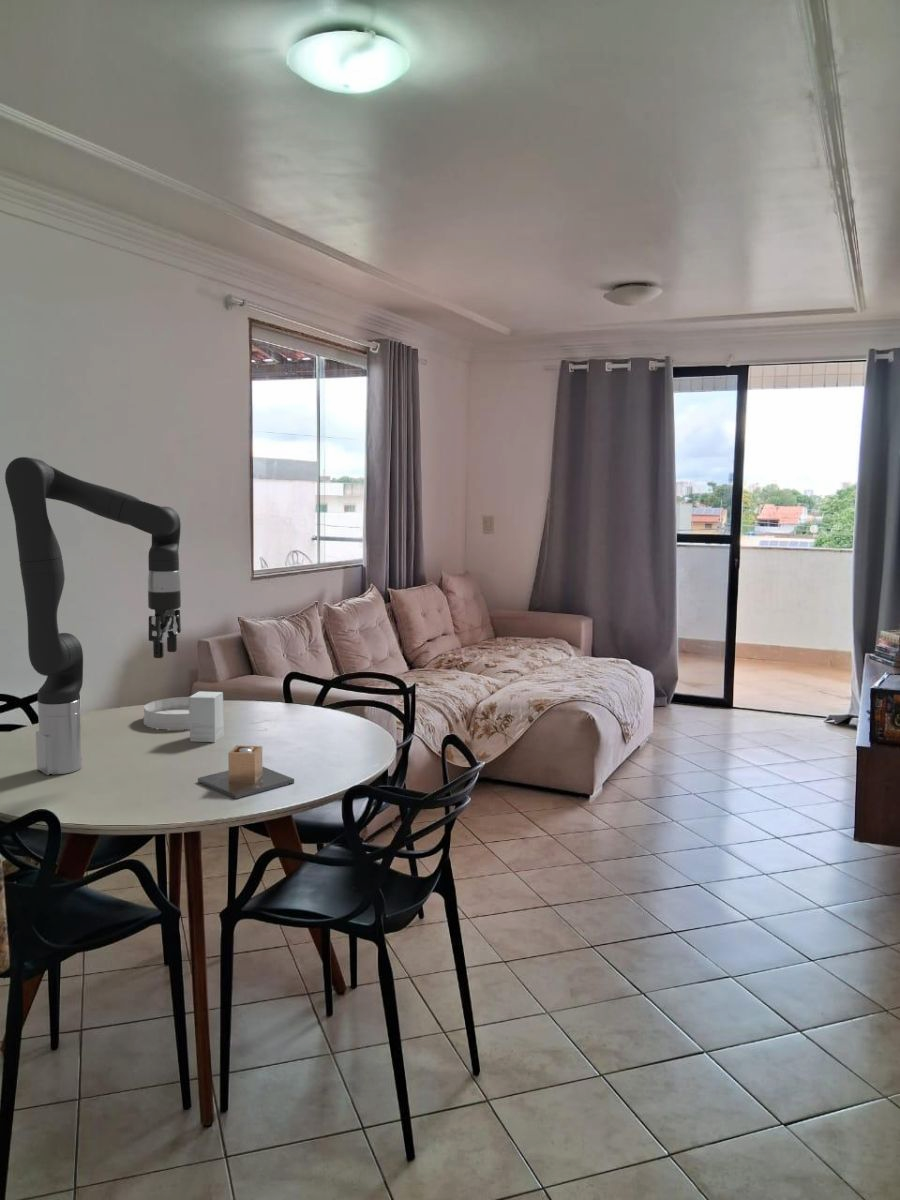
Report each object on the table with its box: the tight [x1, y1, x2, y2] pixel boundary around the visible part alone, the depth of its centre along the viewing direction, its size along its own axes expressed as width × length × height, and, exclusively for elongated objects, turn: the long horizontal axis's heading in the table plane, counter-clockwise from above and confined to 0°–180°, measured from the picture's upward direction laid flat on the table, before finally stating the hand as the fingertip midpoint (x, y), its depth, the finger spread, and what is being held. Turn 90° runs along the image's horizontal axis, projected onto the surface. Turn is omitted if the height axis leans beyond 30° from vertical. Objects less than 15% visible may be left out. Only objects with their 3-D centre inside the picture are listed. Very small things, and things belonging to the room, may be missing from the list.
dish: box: [143, 696, 190, 731], centre depth 259 cm, size 22×22×5 cm
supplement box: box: [188, 690, 225, 743], centre depth 240 cm, size 7×7×13 cm
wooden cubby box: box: [227, 744, 263, 783], centre depth 204 cm, size 6×6×7 cm
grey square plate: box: [197, 748, 295, 800], centre depth 204 cm, size 16×16×8 cm
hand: (165, 654), depth 212 cm, fingers open, 8 cm apart
